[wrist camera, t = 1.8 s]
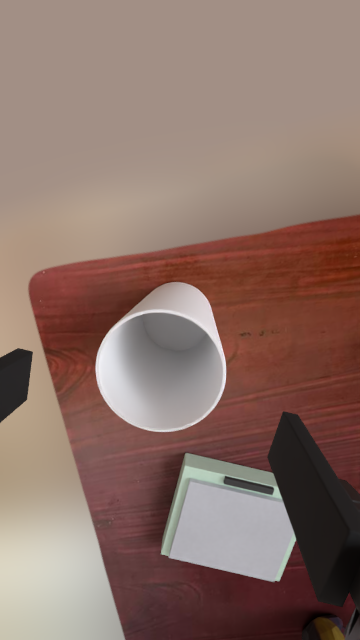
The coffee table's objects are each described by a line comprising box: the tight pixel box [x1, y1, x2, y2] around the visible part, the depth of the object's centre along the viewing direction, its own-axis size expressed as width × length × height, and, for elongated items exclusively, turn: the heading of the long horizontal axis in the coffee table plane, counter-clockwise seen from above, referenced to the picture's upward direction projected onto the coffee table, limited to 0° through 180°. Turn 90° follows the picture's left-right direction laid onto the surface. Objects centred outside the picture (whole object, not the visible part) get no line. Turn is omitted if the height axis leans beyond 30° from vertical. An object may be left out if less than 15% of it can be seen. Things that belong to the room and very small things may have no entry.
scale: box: [161, 453, 296, 582], centre depth 38 cm, size 16×14×3 cm
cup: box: [96, 282, 226, 432], centre depth 26 cm, size 8×8×16 cm
